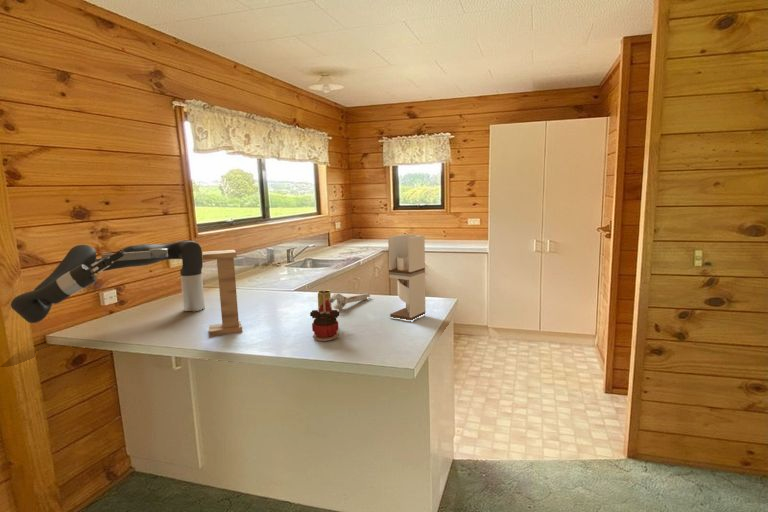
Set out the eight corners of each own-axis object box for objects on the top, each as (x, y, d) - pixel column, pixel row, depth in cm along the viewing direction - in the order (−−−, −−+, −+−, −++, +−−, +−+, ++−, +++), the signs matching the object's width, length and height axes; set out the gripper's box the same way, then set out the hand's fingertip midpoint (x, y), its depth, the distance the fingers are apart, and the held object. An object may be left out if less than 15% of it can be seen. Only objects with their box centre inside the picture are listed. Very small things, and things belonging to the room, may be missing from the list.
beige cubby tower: (404, 312, 194) (403, 234, 188) (425, 315, 187) (424, 235, 182) (390, 318, 184) (388, 237, 179) (411, 322, 178) (409, 238, 173)
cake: (309, 342, 158) (306, 294, 155) (314, 334, 167) (312, 288, 164) (338, 342, 157) (336, 293, 154) (341, 334, 166) (340, 288, 164)
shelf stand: (209, 330, 175) (202, 251, 171) (240, 325, 180) (234, 249, 175) (209, 336, 167) (202, 254, 163) (242, 331, 172) (236, 252, 167)
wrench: (369, 304, 221) (333, 312, 195) (366, 304, 222) (330, 311, 196) (370, 288, 220) (334, 294, 195) (367, 288, 221) (331, 294, 195)
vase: (321, 328, 173) (319, 294, 171) (316, 324, 178) (314, 291, 176) (335, 326, 176) (333, 292, 174) (330, 322, 181) (328, 289, 179)
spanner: (104, 260, 157) (103, 252, 157) (168, 255, 165) (168, 247, 165) (101, 262, 152) (100, 254, 151) (167, 257, 160) (167, 249, 159)
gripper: (88, 284, 159) (132, 258, 164) (79, 292, 147) (126, 263, 151) (74, 268, 157) (119, 241, 162) (63, 274, 144) (112, 245, 149)
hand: (122, 252), depth 156 cm, fingers closed on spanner, 3 cm apart
